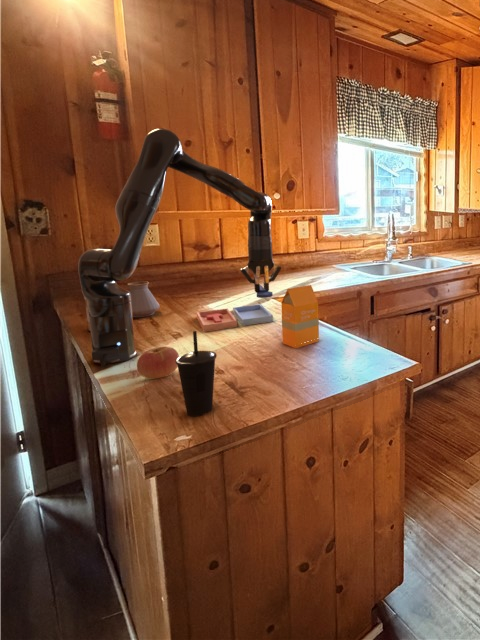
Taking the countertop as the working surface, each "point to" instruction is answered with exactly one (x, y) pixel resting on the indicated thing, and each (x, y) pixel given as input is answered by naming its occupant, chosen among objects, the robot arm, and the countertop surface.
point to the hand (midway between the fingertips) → (262, 292)
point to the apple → (157, 362)
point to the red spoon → (214, 317)
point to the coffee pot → (142, 299)
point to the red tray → (209, 325)
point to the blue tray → (252, 314)
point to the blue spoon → (264, 293)
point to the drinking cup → (197, 379)
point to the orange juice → (300, 317)
